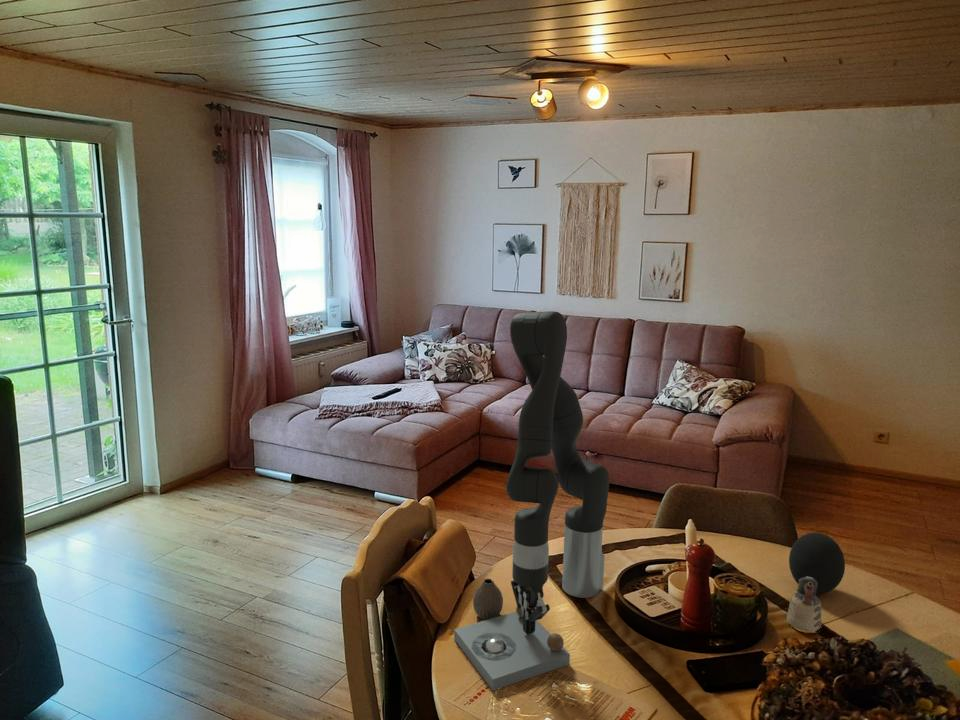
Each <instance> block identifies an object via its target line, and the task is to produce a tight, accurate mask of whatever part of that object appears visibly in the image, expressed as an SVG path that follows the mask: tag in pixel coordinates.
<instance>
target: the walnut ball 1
mask: <svg viewBox="0 0 960 720" xmlns="http://www.w3.org/2000/svg"><path fill="white" fill-rule="evenodd" d="M515 610H516V611H515V612H517V614H518V616H520V617H521V618H523V615H522V614H521V608H520V609H518V607H517V606H516V607H515Z"/></svg>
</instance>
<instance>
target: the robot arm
mask: <svg viewBox="0 0 960 720" xmlns="http://www.w3.org/2000/svg"><path fill="white" fill-rule="evenodd" d="M509 332H510V335H509V336H510V340H511V344H512V346H513V350H514V352H515V355H516V356H517V360H518V361H519V364H520V365H521V367H522V370H523V371H524V374H525V376H526V379H527V380H528V383H529V386H530V388H531V392H529V394H528V395H527V397H526V399H525V401H524V403H523V405H522V407H521V410H520V412H519V418H518V420H519V421H518V433H517V437H518V438H517V445H516V451H515V454H514V459H513V463H512V465H511V469H510V471H509V474H508V475H507V480H506V484H505V491H506V494H507V497H509V499H510V500H511V501H514V502H517V503H518V502H521V503H530V504H531V503H532V504H538V505H536V506H534V507H527V508H523V509H520V510H518V511H517V512H516V513H515V516H514V530H513V531H514V536H513V537H514V538H513V545H512V569H511V570H512V575H511V576H512V579H513V580H511V581H510V585H511V589H512V592H513V596H514V599H515V603H516V607H518V609H520V608H521V614H522V615H523V631H524V632H525V633H526V634H531V633H534V632H535V621H536V620H537V621H538V620H542V619H543V618H544V617H545V616H546V615H547V613H549V611H550V610H551V606H550V605H549V604H548V603H546V604H545V601H544V599H543V598H544V589H543V587H544V585H545V584H546V583H547V582H548V579H549V561H550V560H549V555H550V553H549V552H550V549H549V522H550V515H551V511H552V508H553V506H554V501H555V499H556V497H557V495H558V491H559V485H560V488H561V490H562V491H563V492H564V493H566V494H567V495H570V496H571V497H574V498H577V499H580V500H581V501H582V505H580V506H579V505H578V506H574V507H572V508H569V509H568V510H566V512H565V514H564V515H565V516H564V536H563V537H564V538H563V561H562V579H561V580H562V582H561V583H562V585H561V586H562V589H563V591H564V592H565V593H566V594H567V595H569V596H571V597H575V598H578V599H579V598H582V599H584V598H585V599H589V598H592V597H595V596H598V594H599V593H600V591H602V589H604V575H605V559H606V558H605V554H604V552H603V551H602V549H603V548H602V547H603V530H604V527H603V526H604V520H605V516H606V512H607V505H608V497H609V491H610V490H609V488H610V474H609V471H608V469H607V467H606V466H604V465H601V464H598V463H595V462H593V461H589V460H586V459H584V458H582V456H581V455H580V453H579V452H578V448H577V445H576V444H577V443H576V442H577V439H578V436H579V435H580V433H581V430H582V428H583V424H584V415H583V411H582V408H581V404H580V401H579V398H578V395H577V393H576V391H575V390H574V389H573V387H572V386H571V385H570V384H569V383H568V382H567V381H566V380H565V379H564V378H563V377H562V375H561V374H562V369H563V364H564V359H565V354H566V353H565V352H566V348H567V341H568V326H567V321H566V319H565V317H564V316H563V314H562V313H560V312H559V311H552V310H550V311H548V310H547V311H529V312H528V311H527V312H520V313H517V314H515V315H514V316H513V317H512V319H511V321H510V326H509ZM551 452H552V455H553V459H554V464H555V470H556V473H555V472H554V470H552V469H549V468H539V467H526V465H527V462H528V461H529V460H530V459H531V460H532V459H535V458H540V457H547V456H548V455H550V454H551Z"/></svg>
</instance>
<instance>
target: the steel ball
mask: <svg viewBox="0 0 960 720" xmlns="http://www.w3.org/2000/svg"><path fill="white" fill-rule="evenodd" d="M484 652H486V653H489V654H500V653H503V652H504V645H503V643H502V641H501V640H499V639H498V638H491V639H489V640H488V641H487V643H486V645H485V651H484Z"/></svg>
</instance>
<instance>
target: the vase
mask: <svg viewBox="0 0 960 720" xmlns="http://www.w3.org/2000/svg"><path fill="white" fill-rule="evenodd" d="M502 593H503V592H502V591H501V590H500V588H499V587H498V585H496V583H495V582H494V580H493V579H491V578H485V579H483V581H482V582H481V584H480V585H479V586H478V587H477V588H476V589H475V592H474V594H473V600H472V606H473V609H474V612H475V614H476V615H477V616H478V617H479V618H480V619H482V621H485V620H488V619H492V618H495V617H498V616H500V614H501V612H502V610H503V605H504V597H503V594H502Z"/></svg>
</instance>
